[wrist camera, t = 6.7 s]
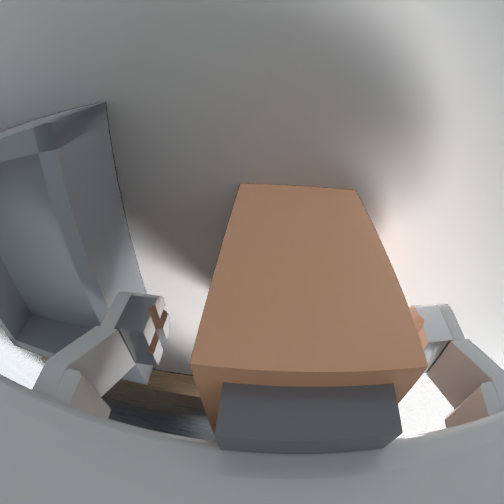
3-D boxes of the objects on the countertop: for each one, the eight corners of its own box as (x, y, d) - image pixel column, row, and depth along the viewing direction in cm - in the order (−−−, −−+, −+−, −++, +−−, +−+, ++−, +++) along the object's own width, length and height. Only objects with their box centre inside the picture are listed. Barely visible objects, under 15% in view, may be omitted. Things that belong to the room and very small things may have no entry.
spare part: (355, 189, 10) (442, 416, 3) (329, 310, 13) (344, 484, 7) (240, 183, 10) (176, 419, 4) (243, 306, 14) (218, 481, 7)
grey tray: (105, 101, 8) (51, 122, 6) (162, 340, 16) (147, 384, 13) (-35, 146, 9) (-72, 170, 7) (33, 314, 17) (14, 344, 14)
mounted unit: (339, 384, 17) (336, 619, 4) (313, 432, 23) (306, 590, 10) (49, 344, 19) (-19, 512, 5) (94, 401, 25) (54, 532, 11)
